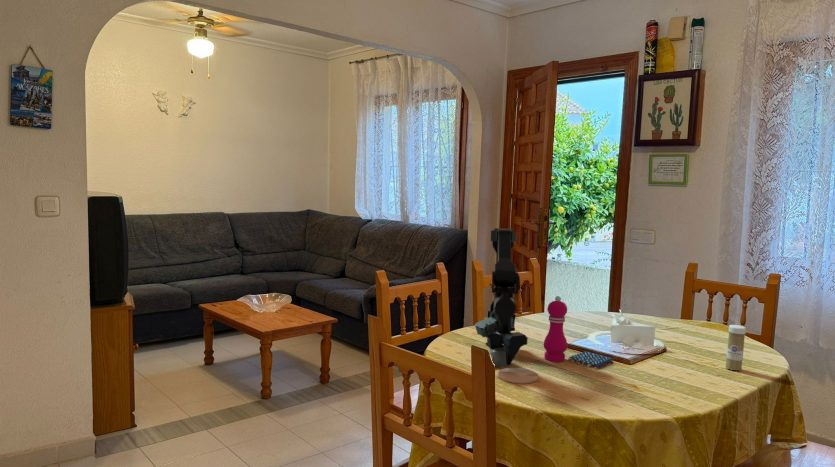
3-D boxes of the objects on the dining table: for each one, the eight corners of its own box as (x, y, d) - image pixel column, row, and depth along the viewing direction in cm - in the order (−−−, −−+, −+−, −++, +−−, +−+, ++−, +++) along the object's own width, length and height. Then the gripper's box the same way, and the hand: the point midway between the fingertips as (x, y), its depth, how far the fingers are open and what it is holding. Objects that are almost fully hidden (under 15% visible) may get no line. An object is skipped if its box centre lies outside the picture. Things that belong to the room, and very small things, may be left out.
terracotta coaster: (523, 368, 176) (523, 365, 176) (545, 381, 166) (545, 378, 166) (491, 372, 171) (491, 369, 171) (512, 385, 162) (512, 382, 161)
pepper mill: (567, 357, 188) (571, 295, 186) (565, 363, 181) (569, 299, 179) (544, 354, 190) (547, 292, 188) (541, 360, 184) (544, 297, 181)
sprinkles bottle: (726, 370, 180) (729, 327, 178) (724, 365, 184) (728, 323, 183) (743, 372, 178) (747, 328, 177) (741, 368, 182) (745, 325, 181)
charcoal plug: (507, 361, 182) (507, 346, 182) (514, 365, 179) (514, 350, 178) (481, 364, 179) (482, 349, 178) (488, 368, 175) (488, 353, 175)
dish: (584, 349, 198) (586, 316, 197) (591, 331, 221) (593, 301, 220) (663, 360, 189) (666, 325, 188) (663, 340, 212) (665, 309, 211)
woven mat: (583, 355, 191) (584, 349, 191) (614, 364, 184) (614, 357, 184) (566, 362, 184) (566, 356, 184) (597, 371, 177) (597, 365, 176)
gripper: (464, 304, 182) (462, 353, 184) (496, 319, 166) (493, 373, 167) (495, 302, 187) (493, 350, 189) (529, 316, 170) (527, 369, 172)
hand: (500, 360), depth 179 cm, fingers open, 8 cm apart
